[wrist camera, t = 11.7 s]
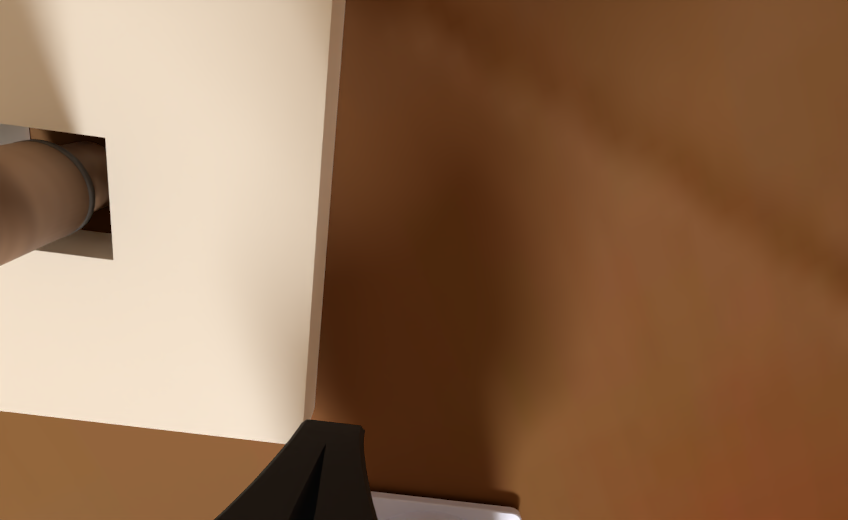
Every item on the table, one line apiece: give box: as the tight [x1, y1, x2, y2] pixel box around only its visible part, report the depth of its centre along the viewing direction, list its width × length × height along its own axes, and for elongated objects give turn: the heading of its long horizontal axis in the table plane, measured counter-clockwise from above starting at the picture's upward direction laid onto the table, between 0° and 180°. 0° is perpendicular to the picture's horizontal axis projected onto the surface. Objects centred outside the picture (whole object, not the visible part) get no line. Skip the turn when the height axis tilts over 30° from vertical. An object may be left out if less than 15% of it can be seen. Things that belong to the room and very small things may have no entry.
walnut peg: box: [0, 139, 110, 266], centre depth 16 cm, size 3×3×8 cm
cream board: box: [0, 0, 346, 444], centre depth 19 cm, size 18×18×2 cm
